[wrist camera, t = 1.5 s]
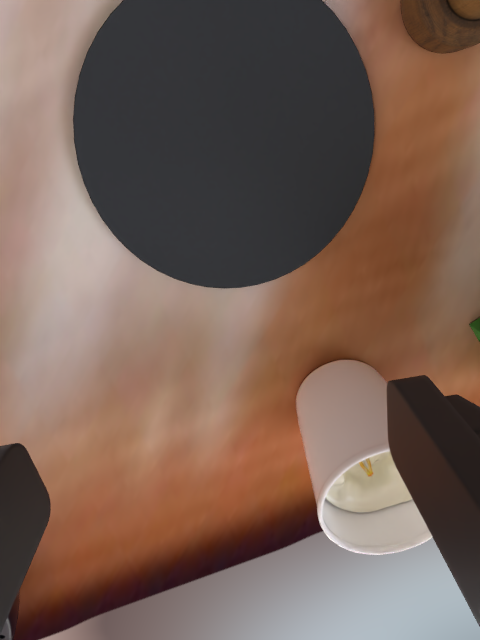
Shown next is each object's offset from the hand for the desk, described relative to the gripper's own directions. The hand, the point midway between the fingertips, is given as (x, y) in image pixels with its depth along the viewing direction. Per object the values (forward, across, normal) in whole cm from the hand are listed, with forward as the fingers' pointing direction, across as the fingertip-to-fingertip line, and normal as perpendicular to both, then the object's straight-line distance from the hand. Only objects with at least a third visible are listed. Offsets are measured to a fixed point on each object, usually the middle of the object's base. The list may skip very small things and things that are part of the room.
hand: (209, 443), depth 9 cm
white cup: (+24, -8, +18) cm, 31 cm away
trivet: (+24, -2, -5) cm, 24 cm away
